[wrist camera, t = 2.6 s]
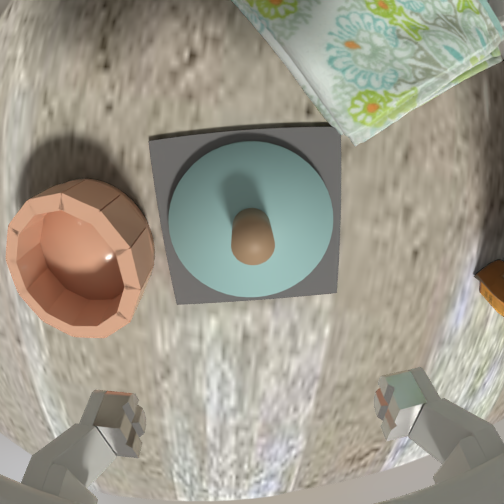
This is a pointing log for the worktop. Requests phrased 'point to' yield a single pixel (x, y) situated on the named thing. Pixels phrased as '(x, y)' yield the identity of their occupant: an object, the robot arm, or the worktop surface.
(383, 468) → the worktop surface
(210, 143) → the mat
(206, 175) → the lid
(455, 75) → the towel
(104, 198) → the bowl
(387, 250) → the worktop surface
